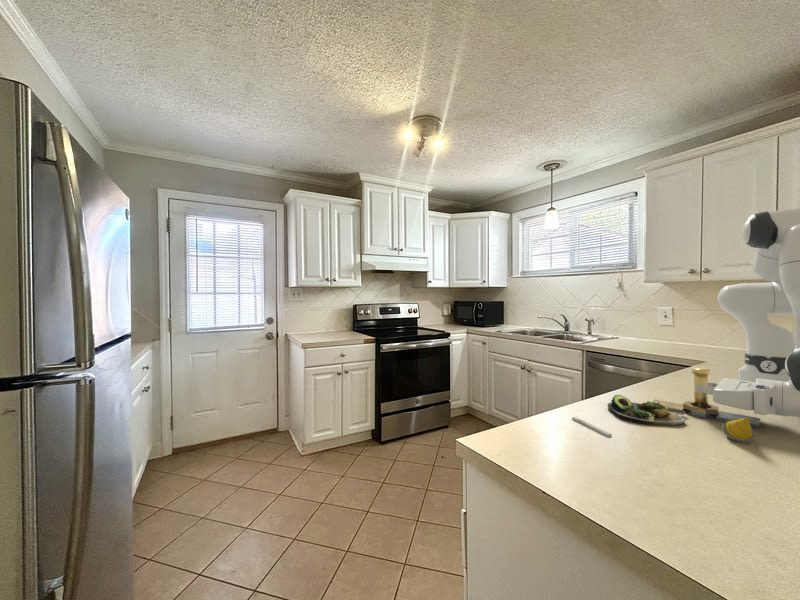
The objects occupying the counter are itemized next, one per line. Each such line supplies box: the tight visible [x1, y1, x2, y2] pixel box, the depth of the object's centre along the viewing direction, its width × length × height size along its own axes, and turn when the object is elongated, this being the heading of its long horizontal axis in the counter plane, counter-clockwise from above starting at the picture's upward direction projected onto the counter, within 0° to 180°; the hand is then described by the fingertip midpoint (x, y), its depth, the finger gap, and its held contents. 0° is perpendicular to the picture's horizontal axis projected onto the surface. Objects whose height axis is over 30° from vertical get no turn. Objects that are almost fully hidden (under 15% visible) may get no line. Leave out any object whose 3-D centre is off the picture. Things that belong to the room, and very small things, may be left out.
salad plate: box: [607, 394, 687, 426], centre depth 98 cm, size 19×18×5 cm
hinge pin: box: [691, 367, 711, 408], centre depth 98 cm, size 4×4×12 cm
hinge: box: [651, 398, 761, 429], centre depth 98 cm, size 7×23×2 cm, turn 40°
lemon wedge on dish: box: [722, 418, 755, 444], centre depth 79 cm, size 5×5×10 cm
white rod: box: [571, 416, 613, 438], centre depth 89 cm, size 12×1×1 cm, turn 12°
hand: (696, 386), depth 99 cm, fingers closed on hinge pin, 3 cm apart
